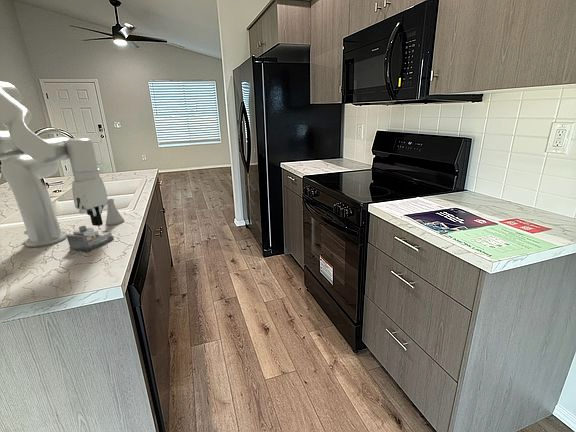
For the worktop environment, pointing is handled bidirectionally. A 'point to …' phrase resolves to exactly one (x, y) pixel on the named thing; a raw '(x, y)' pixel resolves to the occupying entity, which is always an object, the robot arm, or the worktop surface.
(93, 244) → the base
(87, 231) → the knobbed grey cube
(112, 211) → the flask
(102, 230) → the worktop surface
